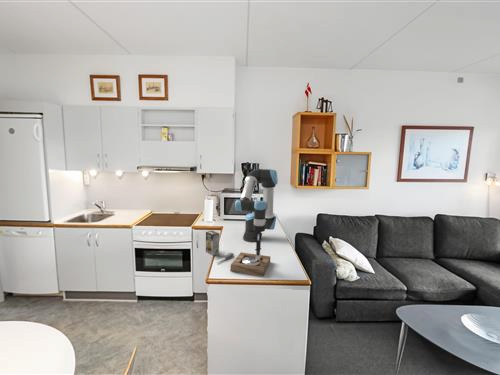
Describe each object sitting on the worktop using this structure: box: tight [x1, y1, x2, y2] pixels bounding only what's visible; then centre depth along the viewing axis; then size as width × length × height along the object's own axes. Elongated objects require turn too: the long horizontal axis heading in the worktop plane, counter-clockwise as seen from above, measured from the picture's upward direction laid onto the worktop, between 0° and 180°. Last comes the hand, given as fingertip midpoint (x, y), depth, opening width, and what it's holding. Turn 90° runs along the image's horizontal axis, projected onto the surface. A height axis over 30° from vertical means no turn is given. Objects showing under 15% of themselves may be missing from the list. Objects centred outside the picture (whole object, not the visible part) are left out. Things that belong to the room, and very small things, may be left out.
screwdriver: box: [216, 252, 234, 264], centre depth 183 cm, size 17×3×2 cm, turn 147°
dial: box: [242, 257, 261, 266], centre depth 173 cm, size 13×13×8 cm
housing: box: [230, 251, 271, 277], centre depth 174 cm, size 22×22×5 cm
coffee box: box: [205, 230, 220, 256], centre depth 193 cm, size 9×6×16 cm
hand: (257, 259), depth 169 cm, fingers closed
